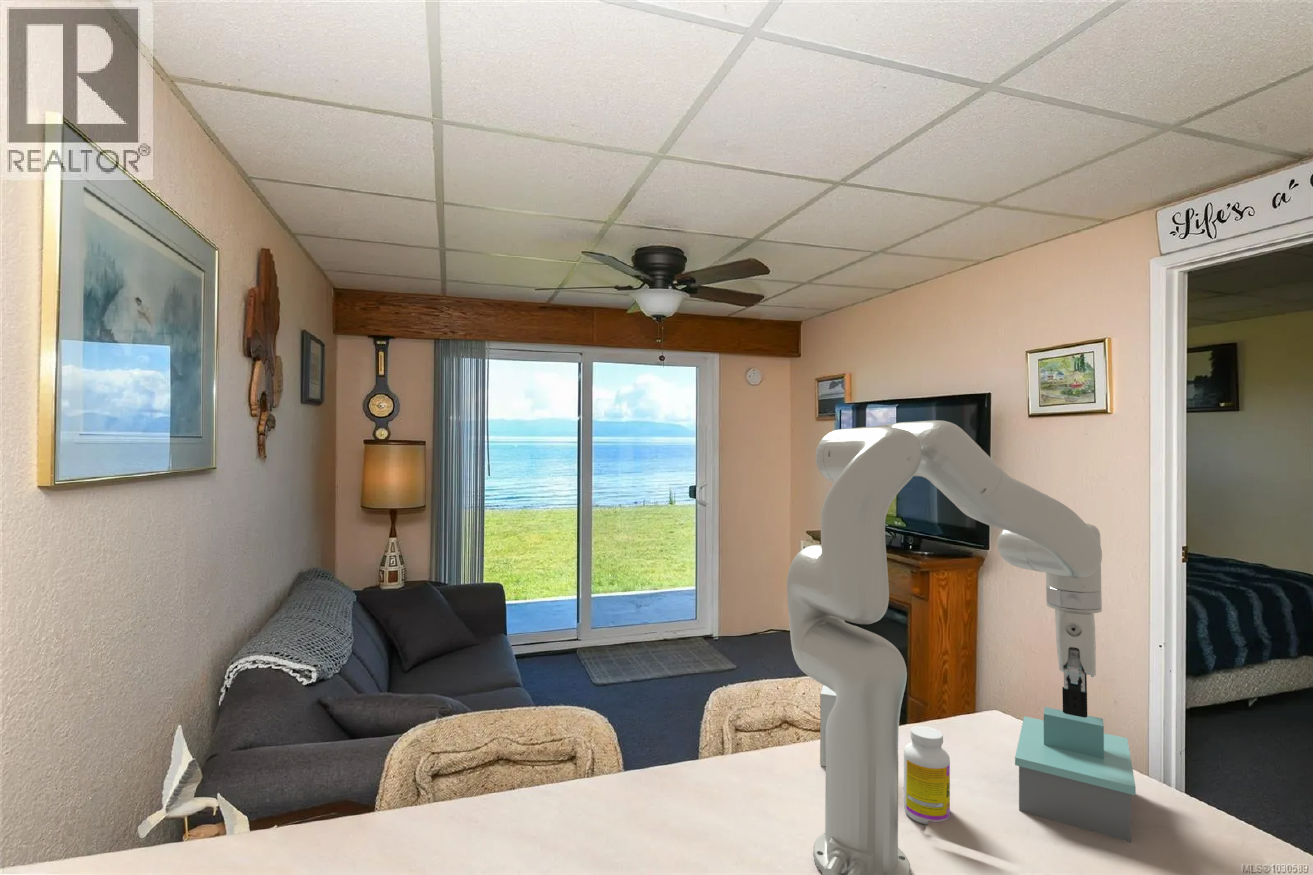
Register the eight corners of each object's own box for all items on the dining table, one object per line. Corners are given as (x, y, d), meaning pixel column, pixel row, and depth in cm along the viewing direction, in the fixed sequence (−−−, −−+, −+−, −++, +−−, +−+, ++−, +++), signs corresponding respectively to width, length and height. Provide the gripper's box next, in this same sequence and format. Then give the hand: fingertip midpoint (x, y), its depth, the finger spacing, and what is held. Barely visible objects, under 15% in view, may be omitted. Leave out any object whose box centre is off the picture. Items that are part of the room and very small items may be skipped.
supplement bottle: (954, 830, 94) (955, 743, 95) (908, 824, 96) (908, 739, 96) (943, 806, 101) (944, 725, 101) (900, 801, 102) (900, 721, 102)
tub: (1131, 849, 90) (1131, 792, 90) (1019, 816, 98) (1019, 764, 98) (1124, 794, 105) (1123, 745, 105) (1027, 769, 113) (1027, 724, 113)
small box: (823, 746, 121) (823, 678, 121) (858, 752, 119) (858, 682, 119) (819, 766, 113) (819, 693, 114) (856, 772, 111) (856, 698, 111)
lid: (1135, 806, 90) (1135, 751, 90) (1015, 775, 98) (1015, 725, 98) (1127, 755, 105) (1127, 708, 106) (1024, 731, 114) (1024, 688, 114)
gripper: (1103, 613, 93) (1105, 730, 93) (1100, 591, 108) (1102, 692, 107) (1043, 606, 97) (1045, 718, 97) (1048, 586, 112) (1050, 683, 111)
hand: (1075, 704), depth 102 cm, fingers open, 9 cm apart
